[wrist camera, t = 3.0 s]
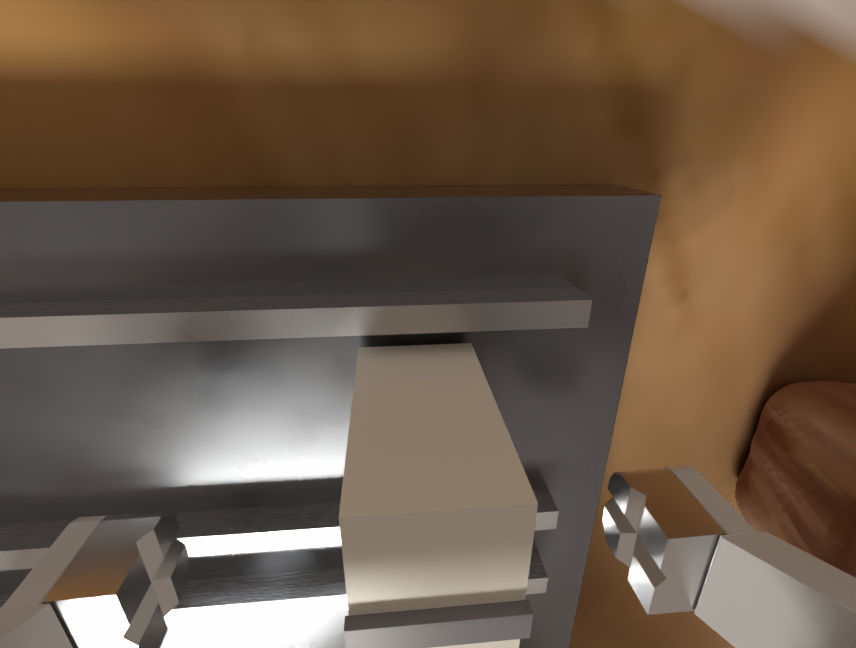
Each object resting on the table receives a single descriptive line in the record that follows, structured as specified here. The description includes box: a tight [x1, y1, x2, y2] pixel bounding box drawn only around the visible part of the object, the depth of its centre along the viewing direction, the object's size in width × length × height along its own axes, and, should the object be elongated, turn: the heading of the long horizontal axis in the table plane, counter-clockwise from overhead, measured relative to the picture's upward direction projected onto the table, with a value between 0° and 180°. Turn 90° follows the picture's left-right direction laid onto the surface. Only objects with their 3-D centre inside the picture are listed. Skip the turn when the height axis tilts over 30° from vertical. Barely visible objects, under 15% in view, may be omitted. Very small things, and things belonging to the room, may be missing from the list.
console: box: [0, 185, 661, 648], centre depth 10 cm, size 24×18×7 cm
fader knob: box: [339, 343, 538, 648], centre depth 8 cm, size 2×4×5 cm, turn 179°
